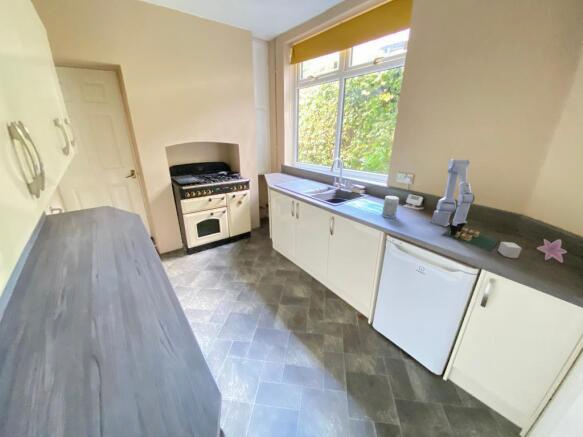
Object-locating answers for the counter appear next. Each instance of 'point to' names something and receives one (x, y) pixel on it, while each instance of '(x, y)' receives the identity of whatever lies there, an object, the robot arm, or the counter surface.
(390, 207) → the supplement tub
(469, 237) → the letter o
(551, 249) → the lily
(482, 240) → the word mat
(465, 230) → the letter i
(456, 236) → the letter s
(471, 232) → the letter t
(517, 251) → the white cube
